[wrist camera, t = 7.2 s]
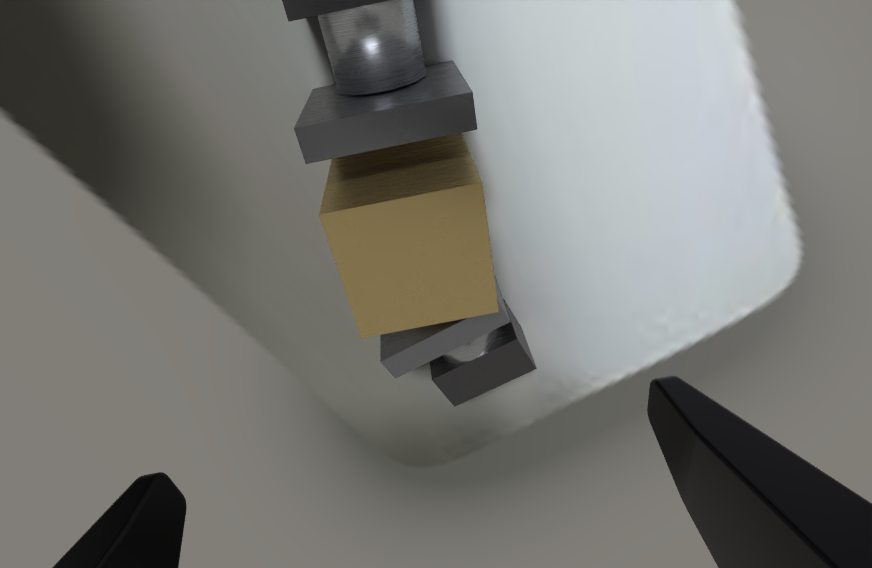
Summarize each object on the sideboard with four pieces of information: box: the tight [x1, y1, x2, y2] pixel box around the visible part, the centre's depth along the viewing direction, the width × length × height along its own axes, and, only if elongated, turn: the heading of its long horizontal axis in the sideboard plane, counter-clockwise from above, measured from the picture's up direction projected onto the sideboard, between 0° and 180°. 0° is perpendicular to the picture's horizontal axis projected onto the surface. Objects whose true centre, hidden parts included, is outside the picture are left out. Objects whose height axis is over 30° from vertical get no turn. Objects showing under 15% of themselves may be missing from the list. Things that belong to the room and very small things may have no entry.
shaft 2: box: [282, 0, 477, 164], centre depth 14 cm, size 5×5×4 cm
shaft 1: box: [381, 274, 537, 407], centre depth 21 cm, size 5×5×4 cm
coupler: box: [319, 133, 499, 338], centre depth 17 cm, size 4×4×6 cm
